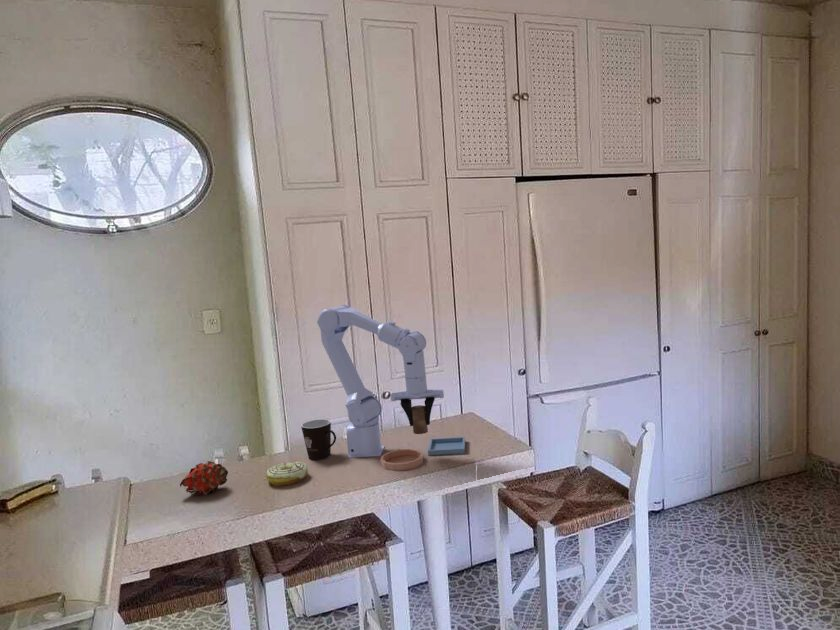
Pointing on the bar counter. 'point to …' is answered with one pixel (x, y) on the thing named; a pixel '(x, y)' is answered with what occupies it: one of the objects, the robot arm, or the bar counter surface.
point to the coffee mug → (318, 438)
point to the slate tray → (446, 446)
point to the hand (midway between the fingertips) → (420, 424)
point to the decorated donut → (287, 473)
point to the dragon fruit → (205, 478)
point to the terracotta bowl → (401, 459)
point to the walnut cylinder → (419, 419)
